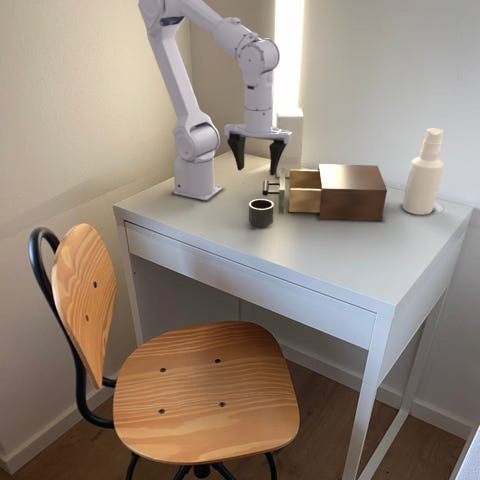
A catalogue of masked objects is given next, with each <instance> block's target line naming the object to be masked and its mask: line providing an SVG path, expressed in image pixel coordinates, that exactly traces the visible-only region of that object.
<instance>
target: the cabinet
mask: <svg viewBox="0 0 480 480" xmlns="http://www.w3.org/2000/svg"><path fill="white" fill-rule="evenodd" d="M317 170H319V173H320V181H321V188H322V193H321V203H320V212H319V213H318V212H317V214H318V220H322V221H323V220H325V221H327V220H329V221H357V222H383V221H382V219H383V214H384V210H385V204H386V200H387V199H386V198H387V193H388V189H387V187H386V186H387V185H386V183H385V181H384V178H383V177H382V173H381V171H380V167H379V165H374V164H373V165H370V164H369V165H367V164H331V163H329V164H328V163H318V169H317Z"/></svg>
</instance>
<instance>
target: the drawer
mask: <svg viewBox="0 0 480 480" xmlns="http://www.w3.org/2000/svg"><path fill="white" fill-rule="evenodd" d="M278 179H279V181H269V180H267V179H264V180H263V182H262V189H261V190H262V191H261V195H262V196H263V197H267V196H268V195H278V213H277V214H279V215H280V214H281V215H282V214H283V215H284V213H285V196H286V177H285V168H280V177H279V178H278ZM288 181H289V182H288V211H289V213H291V212H292V213H317V214H318V213H319V212H320V203H321V193H322V188H321V181H320V173H319V170H318V169H301V170H298V169H290V177H289V179H288ZM270 186H278V190H270V188H269V187H270Z"/></svg>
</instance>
